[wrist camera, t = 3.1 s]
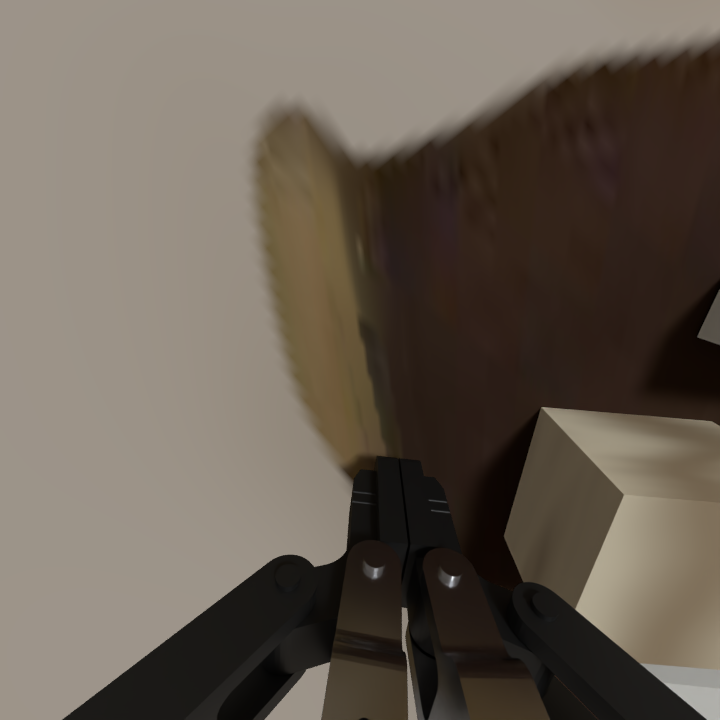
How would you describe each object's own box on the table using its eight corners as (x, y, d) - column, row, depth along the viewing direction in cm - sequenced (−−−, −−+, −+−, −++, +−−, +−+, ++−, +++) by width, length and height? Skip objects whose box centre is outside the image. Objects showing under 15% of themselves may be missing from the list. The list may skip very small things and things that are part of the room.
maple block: (707, 419, 13) (877, 515, 8) (646, 545, 15) (757, 673, 10) (539, 405, 13) (624, 494, 8) (502, 533, 15) (555, 656, 10)
